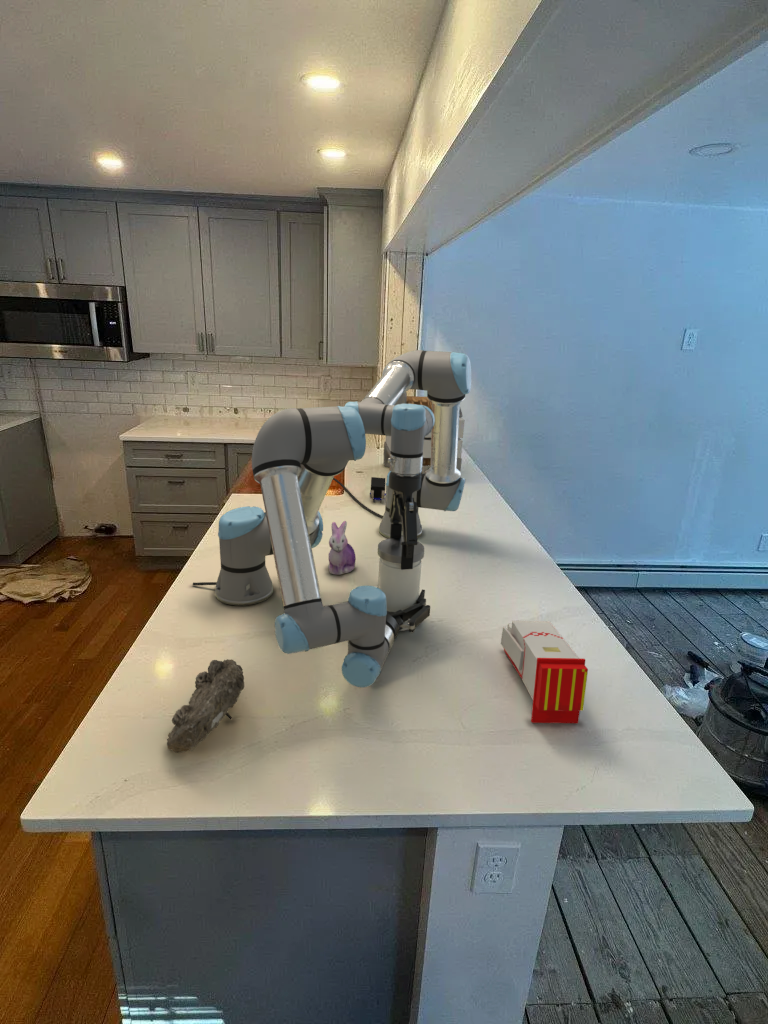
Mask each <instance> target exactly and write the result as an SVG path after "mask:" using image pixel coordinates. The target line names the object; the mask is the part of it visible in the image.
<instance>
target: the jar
mask: <svg viewBox="0 0 768 1024" xmlns="http://www.w3.org/2000/svg"><path fill="white" fill-rule="evenodd" d="M378 560H379V561H378V580H377V581H378V582H377V587H378V588H379V589H381V590H382V591H383V592H384V593H385V595H386V602H387V611H389V612H396V611H398V610H405V609H407V608H409V607H411V606H414V605H416V603H417V599H418V597H419V595H420V589H421V575H422V574H421V573H422V559H421V560H420V561H418V562H415V563H413V569H405V570H401V564H398V563H392V562H388V561H385V560H383V559H382V558H380V557H379V559H378ZM407 621H408V620H407ZM407 621H405V622H407ZM402 631H403V632H404V631H409V629H407V628H403V629H401V630H400V631H399V632H402Z"/></svg>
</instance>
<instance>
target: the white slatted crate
mask: <svg viewBox="0 0 768 1024" xmlns="http://www.w3.org/2000/svg"><path fill="white" fill-rule="evenodd" d="M407 394H408V393H407V391H406V392H404V393H403V394H402V395H401V396H400V398H399V399H398V401H397V402H396V404H395V405H398V404H417V405H424V406H426V407H428V408H429V409H430V410H431V411H432V402H431V401H430V400H429V399H428V398H427V396H415V395H414V396H413V395H412V396H411V395H407ZM464 429H465V419H464V418H463V411H462V408H461V407H460V410H459V429H458V448H457V466H456V468H457V469H458V470H459V471H460V473H461V472H462V461H463V460H462V453H463V442H464V441H463V440H462V439H463V438H464V431H465V430H464ZM390 451H391V436H385V438H384V442H383V466H384V467H388V468H390V463H389V462H388V459H390V458H391V456H390ZM430 464H431V432H430V433H429V434H428V435H427V436H425V437H424V444H423V465H422V467H430ZM390 471H391V470H390V469H389V472H390Z"/></svg>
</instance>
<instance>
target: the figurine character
mask: <svg viewBox="0 0 768 1024" xmlns="http://www.w3.org/2000/svg"><path fill="white" fill-rule="evenodd" d="M369 490H370V491H369V498H370V500H372V502H373V503H376V501H379V503H380V504H381V503H382V502H383V500H385V499H386V477H376V476H371V478H370V489H369Z"/></svg>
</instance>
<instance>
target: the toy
mask: <svg viewBox="0 0 768 1024" xmlns="http://www.w3.org/2000/svg"><path fill="white" fill-rule="evenodd" d="M500 645H501V646H502V648H503V652H504V654H505V655H506V657H507V658H508V660H509V661H510V663H511V664H512V666H513V668H514V669H515V671H516V672H517V674H518V676H519V677H520V679H521V680H522V683H523V685H524V686H525V688H526V690H527V692H528V694H529V696H530V697H531V699H532V708H531V719H530V722H531V723H532V724H579V719H580V712H583V711H584V706H585V697H586V689H587V680H588V671H589V669H588V667H587V666H586V659H585V658H580V657H579V656H578V655H577V654H576V652H575V651H574V650H573V648H572V647H571V646H570V645H569V644H568V642H567V641H566V640H565V638H564V637H563V636H562V634H561V633H560V632H559V631H558V630H557V628H556V627H555V626H554V624H553V623H552V622H551V621H549V620H548V621H545V620H540V621H539V620H511V622H508V623H507V626H502V632H501V638H500Z"/></svg>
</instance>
